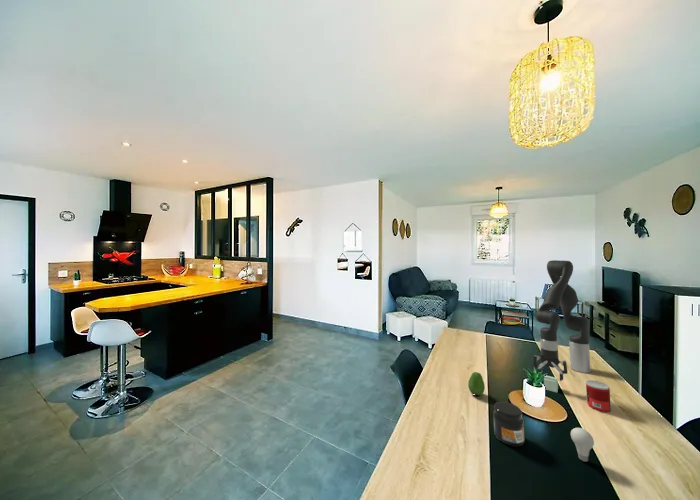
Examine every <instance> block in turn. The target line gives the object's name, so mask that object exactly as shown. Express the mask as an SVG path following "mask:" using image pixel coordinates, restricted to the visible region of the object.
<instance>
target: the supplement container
mask: <svg viewBox="0 0 700 500" xmlns="http://www.w3.org/2000/svg"><path fill="white" fill-rule="evenodd" d="M492 415H493V416H492V417H493V428H494V429H493V432H494V435H496V436H495V437H496V438H497V440H499V441H500V442H501V441H502V443H503V444H505V445H507V444H508V445H507V446H510V445H511V446H510V447H522V446H523V445H524V444H525V442H526V441H525V428H524V427H525V426H524V424H525V420H524V418H523V412H522V410H521V408H520V407H518V406H517V405H515V404H513V403H511V402H508V401H497V402H495V403H494V405H493V412H492Z"/></svg>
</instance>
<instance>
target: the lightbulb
mask: <svg viewBox="0 0 700 500" xmlns="http://www.w3.org/2000/svg"><path fill="white" fill-rule="evenodd" d="M570 438H571V440H572V442H573V443H574V445H575V448H576V451H577V455H578V456H577V457H578V459H579V460H581V461H582V462H588V461H589V456H590V451H591V449H592V448H593V447H594V444H595V441H594V440H595V439H594V437H593V436H592V434H591V433H590V432H589V431H587V430H586V429H584V428H582V427H575V428H573V429H571V430H570Z"/></svg>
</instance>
